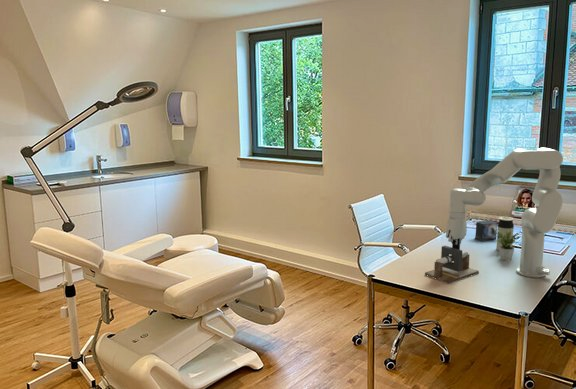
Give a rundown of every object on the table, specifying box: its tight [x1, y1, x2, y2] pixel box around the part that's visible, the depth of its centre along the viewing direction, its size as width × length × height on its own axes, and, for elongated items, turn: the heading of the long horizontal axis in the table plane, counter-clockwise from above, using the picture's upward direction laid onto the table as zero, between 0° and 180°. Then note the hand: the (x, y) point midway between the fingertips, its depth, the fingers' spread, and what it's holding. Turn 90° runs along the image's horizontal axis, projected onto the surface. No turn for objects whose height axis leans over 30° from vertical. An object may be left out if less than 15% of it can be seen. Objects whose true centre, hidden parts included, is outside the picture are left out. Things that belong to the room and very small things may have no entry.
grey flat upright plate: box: [440, 245, 463, 272], centre depth 233 cm, size 10×2×10 cm, turn 34°
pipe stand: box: [424, 250, 480, 284], centre depth 234 cm, size 14×22×10 cm, turn 124°
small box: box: [474, 219, 498, 242], centre depth 291 cm, size 11×6×10 cm, turn 105°
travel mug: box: [496, 216, 515, 252], centre depth 268 cm, size 8×8×18 cm
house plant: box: [495, 229, 522, 261], centre depth 252 cm, size 14×14×16 cm
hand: (455, 251), depth 234 cm, fingers closed
